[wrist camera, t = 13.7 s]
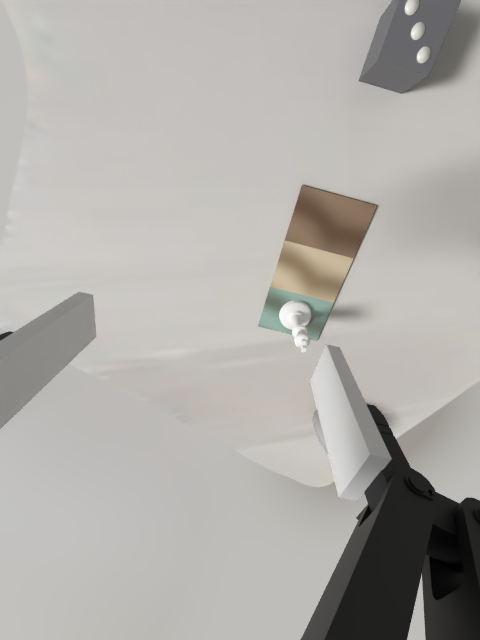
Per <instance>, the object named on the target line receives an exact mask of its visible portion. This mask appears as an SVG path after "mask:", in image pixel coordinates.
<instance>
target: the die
mask: <svg viewBox="0 0 480 640" xmlns="http://www.w3.org/2000/svg"><path fill="white" fill-rule="evenodd" d="M460 2H461V0H393V1H392V2H391V3H390V5H389V6H388V8H387V9H386V10H385V12H384V13H383V15H382V16H381V18H380V21H379V24H378V26H377V29H376V32H375V35H374V38H373V41H372V44H371V47H370V50H369V53H368V55H367V58H366V61H365V64H364V67H363V70H362V73H361V76H360V79H359V81H361V82H364V83H368V84H371V85H374V86H378V87H381V88H384V89H388V90H391V91H394V92H398V93H401V94H402V93H404V92H405V91H407V90H408V89H410V88H411V87H413V86H414V85H416V84H417V83H419V82H420V81H422V80H423V79H425V78H426V77H428V75H429V73H430V71H431V68H432V66H433V64H434V62H435V59H436V57H437V55H438V52H439V50H440V48H441V46H442V43H443V41H444V39H445V36H446V34H447V32H448V30H449V27H450V25H451V23H452V20H453V18H454V16H455V14H456V11H457V9H458V7H459V4H460Z"/></svg>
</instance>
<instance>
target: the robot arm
mask: <svg viewBox="0 0 480 640" xmlns="http://www.w3.org/2000/svg"><path fill="white" fill-rule="evenodd" d="M95 337H96V326H95V314H94V301H93V295H91V294H87V293H82V292H78V293H76V294H75V295H73V296H71V297H70V298H68V299H67V300H65V301H63V302H62V303H60V304H59V305H57V306H55V307H54V308H52V309H51V310H49V311H47V312H46V313H44V314H43V315H41V316H39V317H38V318H36V319H35V320H33V321H31V322H30V323H28V324H26V325H25V326H23V327H22V328H20V329H18V330H17V331H15V332H10V331H9V332H6V333H4V334H1V335H0V429H1V428H2V427H3V426H4V425H5V424H6V423H7V422H8V421H9V420H10V419H11V418H12V417H13V416H14V415H15V414H16V413H17V412H19V411H20V410H21V408H23V407H24V406H25V405H26V404H27V403H28V402H29V401H30V400H31V399H32V398H33V397H34V396H35V395H36V394H37V393H38V392H39V391H40V390H41V389H42V388H43V387H44V386H46V385H47V384H48V383H49V382H50V381H51V380H52V379H53V378H54V377H55V376H56V375H57V374H58V373H59V372H60V371H61V370H62V369H63V368H64V367H65V366H66V365H67V364H68V363H69V362H71V361H72V360H73V359H74V358H75V357H76V356H77V355H78V354H79V353H80V352H81V351H82V350H83V349H84V348H85V347H86V346H87V345H88V344H89V343H90V342H91V341H92V340H93V339H94V338H95ZM310 382H311V386H312V390H313V394H314V398H315V403H316V407H317V411H318V415H319V419H320V423H321V427H322V431H323V435H324V439H325V443H326V447H327V452H328V456H329V460H330V464H331V468H332V472H333V476H334V480H335V484H336V488H337V492H338V496H339V498H343V499H349V500H354V501H358V500H359V499H360V498H361V497H362V495H363V494H364V493H365V495H366V498H367V501H368V505H367V506H366V507H365V508H364V510H363V511H362V512H361V513H360V514H359V515H358V517H357V519H358V520H359V521H358V523H357V525H356V527H355V529H354V531H353V533H352V535H351V537H350V539H349V542H348V544H347V546H346V548H345V550H344V552H343V554H342V556H341V558H340V560H339V562H338V564H337V566H336V568H335V570H334V572H333V574H332V576H331V579H330V581H329V583H328V585H327V587H326V589H325V591H324V593H323V595H322V597H321V599H320V602H319V604H318V606H317V607H316V610H315V612H314V614H313V616H312V618H311V620H310V622H309V624H308V626H307V628H306V631H305V632H304V634H303V636H302V638H301V640H407V636H408V632H409V627H410V623H411V618H412V614H413V610H414V605H415V601H416V596H417V591H418V587H419V582H420V578H421V574H422V581H423V599H424V617H425V635H426V640H480V501H479V500H477V499H475V498H466V499H464V500H463V501H462V502H461V503H460V504H459V503H457V502H455V501H453V500H451V499H449V498H447V497H445V496H443V495H441V494H439V493H437V492H435V490H434V488H433V486H432V485H431V484H430V482H429V481H428V480H427V479H426V478H425V477H424V476H423V475H422V474H420V473H419V472H417V471H415V470H414V469H412V468H410V465H409V463H408V462H407V460H406V458H405V456H404V454H403V452H402V450H401V448H400V446H399V444H398V442H397V440H396V438H395V436H393V433H392V431H391V429H390V428H389V425H388V423H387V421H386V419H385V417H384V415H383V414H382V413H381V412H380V411H379V410H378V409H377V408H376V407H375V406H374V405H369V404H366V403H365V401H364V398H363V396H362V394H361V392H360V390H359V388H358V386H357V383H356V381H355V379H354V377H353V375H352V373H351V371H350V369H349V366H348V364H347V362H346V360H345V358H344V356H343V354H342V351H341V349H340V347H336V346H331V345H326V347H325V349H324V351H323V353H322V356H321V358H320V360H319V362H318V365H317V367H316V369H315V371H314V374H313V376H312V378H311V380H310Z"/></svg>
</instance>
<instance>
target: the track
mask: <svg viewBox="0 0 480 640" xmlns="http://www.w3.org/2000/svg"><path fill="white" fill-rule="evenodd" d="M376 207H377V206H376V205H372V204H369V203H365V202H362V201H358V200H354V199H351V198H347V197H343V196H340V195H336V194H333V193H329V192H325V191H322V190H318V189H314V188H311V187H307V186H304V185H302V187H301V191H300V194H299V197H298V200H297V203H296V206H295V210H294V213H293V216H292V219H291V222H290V226H289V229H288V232H287V235H286V238H285V242H284V245H283V248H282V251H281V254H280V258H279V261H278V264H277V267H276V270H275V274H274V277H273V280H272V283H271V286H270V290H269V293H268V296H267V299H266V302H265V305H264V309H263V312H262V315H261V318H260V321H259V325H258V326H259V327H263V328H267V329H271V330H275V331H279V332H283V333H287V334H291V335H292V330H291V329H288V328H286V327H285V326H283V324H282V323H281V321H280V318H279V312H280V310H281V308H282V306H283V305H284V304H286V303H287V302H290V301H294V300H298V301H302V302H304V303H306V304H307V305H308V306H309V308H310V310H311V319H310V321H309V323H308V324H307V325H306V326H305V327H306V328H307V330H308V333H307V335H308V336H309V338H310V339H312V340H316V341H317V339H318V337H319V335H320V333H321V330H322V328H323V326H324V324H325V321H326V319H327V317H328V315H329V313H330V310H331V308H332V306H333V304H334V301H335V299H336V297H337V295H338V292H339V290H340V288H341V286H342V283H343V281H344V279H345V277H346V274H347V272H348V270H349V268H350V265H351V263H352V261H353V259H354V256H355V254H356V252H357V250H358V248H359V245H360V243H361V241H362V239H363V236H364V234H365V232H366V230H367V227H368V225H369V223H370V221H371V218H372V216H373V214H374V212H375V209H376Z"/></svg>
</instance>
